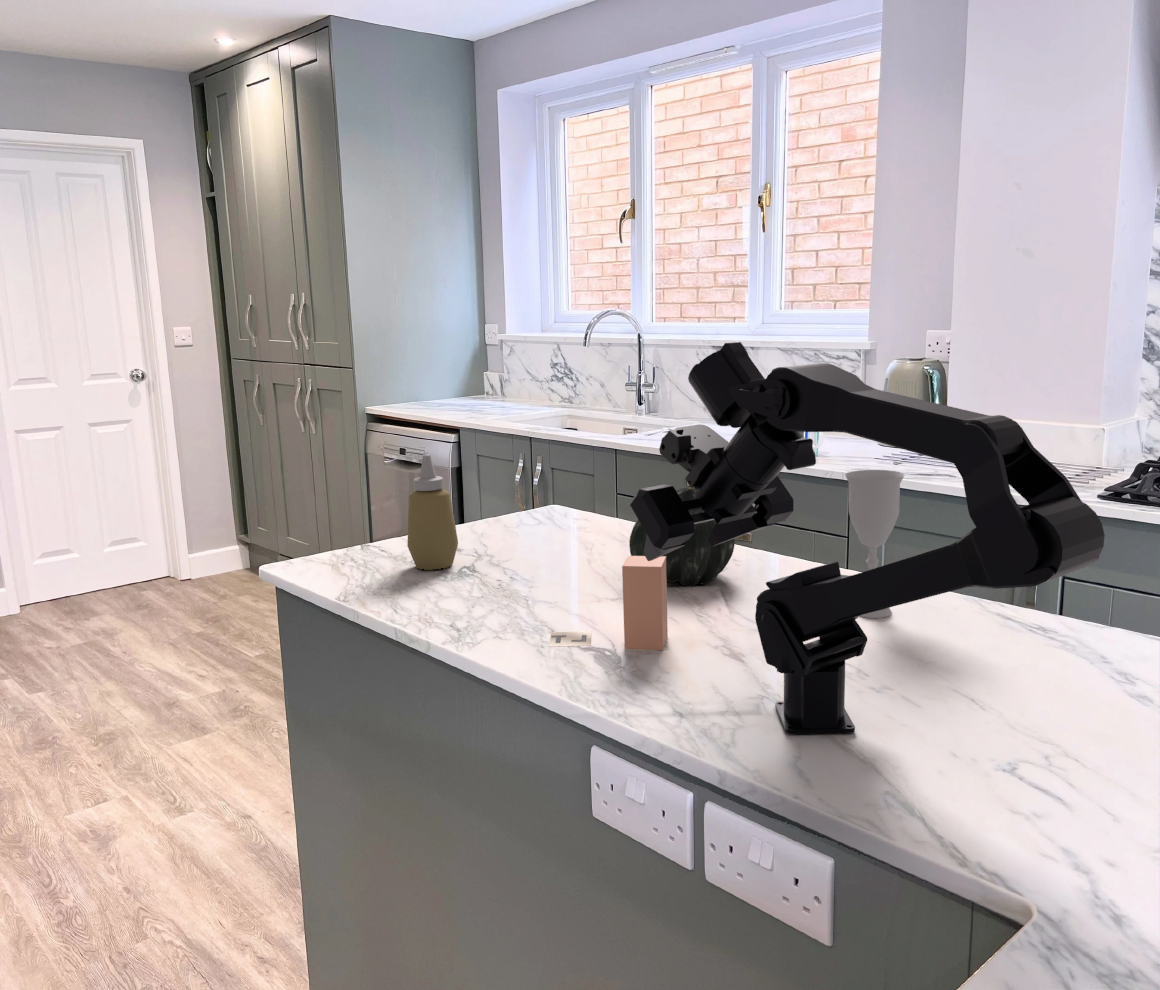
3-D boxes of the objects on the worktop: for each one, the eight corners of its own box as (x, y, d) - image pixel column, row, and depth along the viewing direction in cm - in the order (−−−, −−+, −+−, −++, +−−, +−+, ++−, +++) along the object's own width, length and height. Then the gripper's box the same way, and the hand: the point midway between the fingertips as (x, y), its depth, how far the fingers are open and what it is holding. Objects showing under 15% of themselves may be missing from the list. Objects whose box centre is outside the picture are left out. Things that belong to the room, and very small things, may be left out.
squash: (646, 526, 151) (633, 467, 140) (741, 532, 147) (736, 473, 136) (630, 604, 143) (615, 548, 132) (731, 612, 139) (724, 556, 128)
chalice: (860, 623, 119) (863, 481, 116) (832, 607, 126) (834, 472, 122) (911, 616, 121) (916, 476, 118) (881, 600, 128) (884, 468, 124)
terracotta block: (663, 650, 111) (661, 566, 109) (624, 648, 111) (622, 566, 110) (667, 636, 115) (665, 556, 113) (630, 635, 116) (628, 555, 114)
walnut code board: (669, 659, 110) (668, 652, 110) (547, 662, 110) (547, 655, 110) (665, 635, 118) (665, 629, 118) (551, 638, 118) (551, 631, 118)
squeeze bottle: (403, 564, 155) (394, 454, 152) (451, 557, 159) (443, 449, 155) (416, 576, 148) (408, 461, 145) (466, 568, 151) (459, 456, 148)
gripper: (773, 393, 103) (705, 481, 114) (638, 409, 93) (578, 504, 104) (830, 473, 98) (753, 557, 110) (695, 500, 88) (625, 589, 99)
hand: (679, 549), depth 106 cm, fingers open, 9 cm apart
